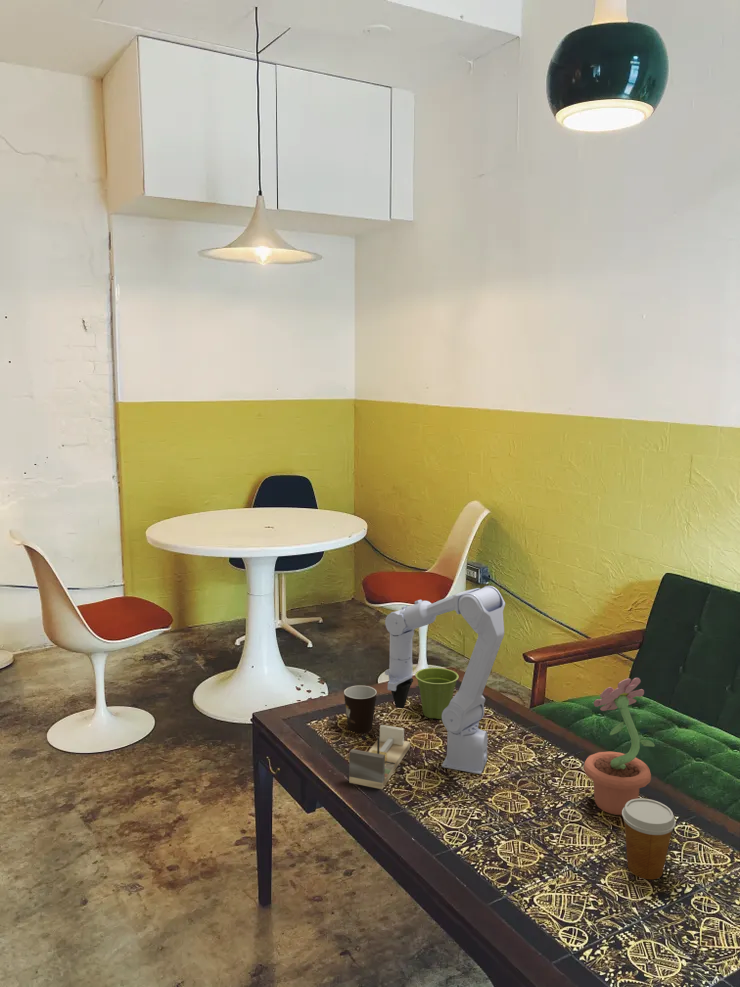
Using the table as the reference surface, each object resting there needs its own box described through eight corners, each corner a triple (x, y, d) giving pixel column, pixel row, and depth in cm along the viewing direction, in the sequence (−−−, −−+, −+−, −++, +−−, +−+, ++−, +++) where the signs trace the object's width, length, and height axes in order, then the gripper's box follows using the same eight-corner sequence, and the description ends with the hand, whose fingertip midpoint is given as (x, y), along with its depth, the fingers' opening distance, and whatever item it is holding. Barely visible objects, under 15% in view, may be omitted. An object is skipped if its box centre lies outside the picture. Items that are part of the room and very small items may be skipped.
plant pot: (464, 711, 214) (465, 672, 213) (445, 727, 204) (446, 687, 203) (427, 701, 221) (427, 663, 219) (406, 716, 211) (407, 677, 209)
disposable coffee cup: (629, 847, 153) (633, 791, 151) (678, 867, 147) (683, 809, 145) (610, 871, 146) (614, 812, 144) (661, 892, 140) (665, 831, 138)
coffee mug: (376, 735, 199) (376, 699, 198) (342, 735, 200) (343, 698, 198) (376, 716, 211) (377, 681, 209) (345, 715, 211) (345, 680, 210)
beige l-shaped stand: (379, 742, 196) (380, 714, 195) (409, 747, 193) (410, 719, 192) (349, 782, 177) (349, 751, 175) (382, 789, 174) (382, 758, 173)
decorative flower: (626, 784, 177) (634, 659, 172) (666, 817, 164) (676, 683, 159) (569, 794, 172) (576, 666, 168) (606, 829, 159) (614, 691, 155)
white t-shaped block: (381, 739, 194) (381, 724, 193) (403, 743, 192) (404, 728, 191) (369, 754, 186) (369, 739, 185) (393, 759, 184) (393, 743, 183)
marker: (372, 757, 184) (372, 734, 183) (396, 762, 182) (396, 738, 181) (369, 761, 183) (369, 737, 182) (393, 766, 181) (393, 742, 180)
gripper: (394, 644, 203) (394, 693, 205) (376, 664, 190) (375, 716, 192) (420, 648, 201) (419, 697, 203) (403, 667, 187) (402, 720, 189)
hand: (400, 707), depth 197 cm, fingers closed
